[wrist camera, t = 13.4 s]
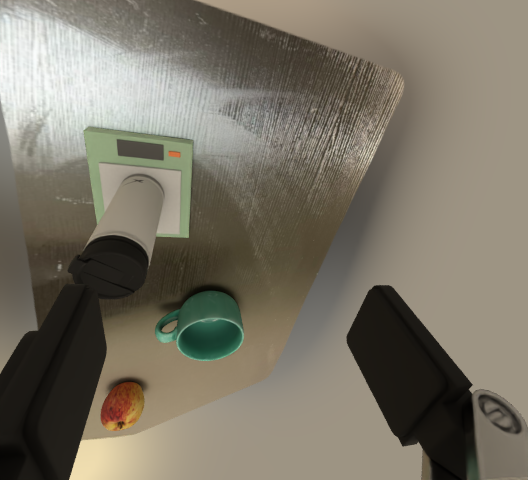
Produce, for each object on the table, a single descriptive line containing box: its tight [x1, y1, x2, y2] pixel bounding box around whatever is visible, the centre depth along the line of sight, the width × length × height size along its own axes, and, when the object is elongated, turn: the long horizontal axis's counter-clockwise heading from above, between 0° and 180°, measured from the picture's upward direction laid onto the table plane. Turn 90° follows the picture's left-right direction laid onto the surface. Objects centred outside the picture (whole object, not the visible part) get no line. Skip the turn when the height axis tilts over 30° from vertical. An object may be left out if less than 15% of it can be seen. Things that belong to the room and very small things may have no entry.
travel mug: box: [68, 174, 164, 299], centre depth 35 cm, size 6×7×20 cm
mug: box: [155, 291, 244, 361], centre depth 57 cm, size 17×13×10 cm
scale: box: [83, 127, 193, 238], centre depth 44 cm, size 16×14×3 cm
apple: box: [101, 382, 144, 431], centre depth 68 cm, size 9×9×10 cm
